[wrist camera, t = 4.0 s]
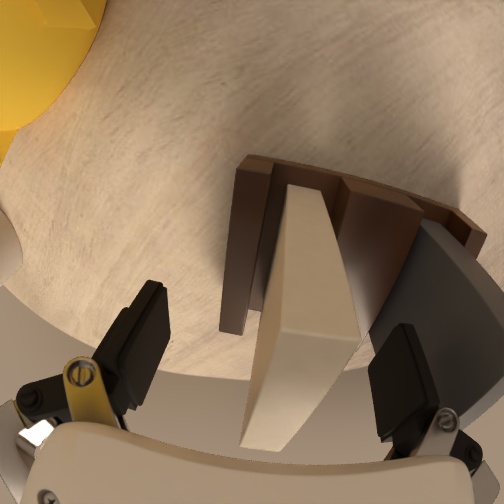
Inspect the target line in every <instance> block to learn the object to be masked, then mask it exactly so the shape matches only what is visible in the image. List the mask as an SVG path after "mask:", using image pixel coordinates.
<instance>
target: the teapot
mask: <svg viewBox="0 0 504 504" xmlns="http://www.w3.org/2000/svg"><path fill="white" fill-rule="evenodd" d="M106 1H107V0H0V167H1V164H2V162H3V160H4V158H5V155H6V153H7V151H8V149H9V147H10V145H11V143H12V141H13V139H14V137H15V135H16V133H17V131H18V129H19V128H22V127H24V126H26V125H28V124H30V123H31V122H32V121H34V120H35V119H37V118H38V117H39V116H40V115H42V114H43V113H44V112H45V111H46V110H47V109H48V108H49V107H50V106H51V105H52V104H53V103H54V102H55V100H56V99H57V98H58V97H59V95H60V94H61V93H62V91H63V90H64V89H65V88H66V86H67V85H68V83H69V82H70V81H71V79H72V78H73V76H74V75H75V74H76V72H77V70H78V69H79V67H80V65H81V64H82V62H83V61H84V59H85V57H86V55H87V53H88V51H89V50H90V48H91V45H92V43H93V41H94V39H95V37H96V34H97V32H98V29H99V26H100V23H101V20H102V17H103V14H104V9H105V5H106Z"/></svg>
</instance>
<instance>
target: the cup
mask: <svg viewBox="0 0 504 504" xmlns="http://www.w3.org/2000/svg"><path fill="white" fill-rule="evenodd" d="M22 262H23V257H22V250H21V246H20V243H19V240H18V237H17V235H16V232H15V230H14V228H13V226H12V224H11V223H10V221H9V219H8V218H7V216H6V215H5V214H4V213H3V212H2V211H1V210H0V287H1V286H2V285H3V284H4V283H5V282H6V281H7V280H8V279H9V278H10V277H11V276H12V275H13V274H14V273H16V272H17V271H18V270H19V269H20V268H21V266H22Z"/></svg>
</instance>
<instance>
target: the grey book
mask: <svg viewBox="0 0 504 504" xmlns="http://www.w3.org/2000/svg"><path fill="white" fill-rule="evenodd" d="M399 323H409V324H413V326H414V328H415V330H416V333H417V335H418V338H419V340H420V343H421V346H422V348H423V351H424V354H425V357H426V359H427V362H428V365H429V368H430V371H431V374H432V377H433V380H434V383H435V386H436V390H437V393H438V396H439V400H440V404H439V408H440V407H442V406H449V407H451V408H453V409H454V410H455V411H456V412H457V414H458V416H459V419H460V426H459V429H460V430H463V429H464V428H466V427H467V426H468V425H470V424H471V423H472V422H473V421H475V420H476V419H477V418H478V417H479V416H481V415H482V414H483V413H484V412H485V411H486V410H488V409H489V408H490V407H491V406H492V405H494V404H495V403H496V402H497V401H498V400H499V399H500V398H501V397H502V396H503V395H504V292H503V291H502V290H501V288H500V287H499V286H498V285H497V284H496V282H495V281H494V280H493V279H492V278H491V276H490V275H489V274H488V273H487V272H486V271H485V269H484V268H483V267H482V266H481V265H480V264H479V263H478V262H477V260H476V259H475V258H474V257H473V256H472V255H471V254H470V253H469V252H468V251H467V250H466V249H465V248H464V247H463V246H462V245H461V244H460V242H459V241H458V240H457V239H456V238H455V237H453V236H452V235H451V234H450V233H449V232H448V231H447V230H446V229H445V228H444V227H443V226H442V225H441V224H440V223H438V222H434V221H431V220H428V219H424V218H422V221H421V224H420V226H419V229H418V231H417V234H416V236H415V239H414V241H413V243H412V246H411V248H410V251H409V253H408V255H407V257H406V260H405V262H404V264H403V266H402V268H401V271H400V273H399V275H398V277H397V279H396V281H395V283H394V285H393V287H392V289H391V291H390V293H389V295H388V297H387V299H386V301H385V303H384V305H383V306H382V308H381V310H380V312H379V314H378V316H377V317H376V319H375V321H374V323H373V325H372V326H371V328H370V330H369V331H368V332H369V335H370V338H371V342H372V345H373V348H374V352H375V355H376V354H377V352H378V351H379V349H380V348H381V347H382V345H383V344H384V342H385V341H386V339H387V338H388V336H389V334H390V333H391V331H392V330H393V328H394V327H395V326H397V325H398V324H399Z"/></svg>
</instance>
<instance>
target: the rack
mask: <svg viewBox="0 0 504 504" xmlns="http://www.w3.org/2000/svg"><path fill="white" fill-rule="evenodd" d="M288 184H290V185H295V186H300V187H305V188H310V189H314V190H319V191H321V194H322V197H323V199H324V202H325V205H326V208H327V211H328V215H329V218H330V221H331V224H332V227H333V230H334V233H335V237H336V240H337V243H338V247H339V250H340V254H341V257H342V261H343V264H344V268H345V271H346V275H347V279H348V283H349V286H350V290H351V294H352V298H353V302H354V307H355V311H356V315H357V319H358V324H359V328H360V333H361V338H362V340H361V343H362V342H363V340H364V338H365V337H366V335H367V333H368V331H369V330H370V328H371V326H372V325H373V323H374V321H375V319H376V317H377V316H378V314H379V312H380V310H381V308H382V306H383V305H384V303H385V301H386V299H387V297H388V295H389V293H390V291H391V289H392V287H393V285H394V283H395V281H396V279H397V277H398V275H399V273H400V271H401V268H402V266H403V264H404V262H405V260H406V257H407V255H408V253H409V251H410V248H411V246H412V243H413V241H414V239H415V236H416V234H417V231H418V229H419V226H420V224H421V221H422V218H424V219H428V220H431V221H434V222H438V223H440V224H441V225H442V226H443V227H444V228H445V229H446V230H447V231H448V232H449V233H450V234H451V235H452V236H453V237H455V238H456V239H457V240H458V241H459V242H460V244H461V245H462V246H463V247H464V248H465V249H466V250H467V251H468V252H469V253H470V254H471V255H472V256H473V257H474V258H475V259H477V257H478V255H479V252H480V250H481V248H482V246H483V244H484V242H485V239H486V237H487V234H486V233H485V232H484V231H483V230H482V229H481V228H480V227H479V226H478V225H476V224H475V223H474V222H473V221H472V220H471V219H470V218H468V217H467V216H466V215H465V214H464V213H462V212H461V211H460V210H458V209H455V208H453V207H450V206H447V205H445V204H442V203H439V202H437V201H434V200H431V199H428V198H425V197H422V196H419V195H416V194H413V193H410V192H407V191H404V190H401V189H398V188H395V187H391V186H388V185H385V184H381V183H378V182H374V181H371V180H367V179H363V178H360V177H356V176H352V175H348V174H344V173H340V172H336V171H332V170H328V169H323V168H319V167H314V166H310V165H305V164H300V163H295V162H290V161H285V160H280V159H274V158H269V157H263V156H257V155H250V154H248V155H247V156H246V157H245V159H244V160H243V161H242V162H241V163H240V165H239V166H238V167H237V168H236V174H235V182H234V190H233V199H232V207H231V216H230V224H229V233H228V242H227V252H226V261H225V271H224V281H223V291H222V301H221V312H220V323H219V331H221V332H226V333H230V334H235V335H240V336H242V335H243V331H244V327H245V322H246V317H247V312H248V309H249V310H255V311H260V312H261V310H262V303H263V298H264V293H265V289H266V284H267V280H268V275H269V271H270V266H271V261H272V257H273V252H274V247H275V242H276V238H277V233H278V228H279V223H280V218H281V213H282V208H283V203H284V198H285V193H286V188H287V185H288ZM361 343H360V344H359V346H360V345H361ZM359 346H358V348H359ZM358 348H357V349H356V351H357V350H358ZM356 351H355V352H356Z"/></svg>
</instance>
